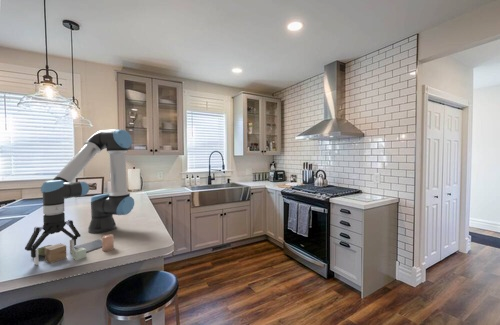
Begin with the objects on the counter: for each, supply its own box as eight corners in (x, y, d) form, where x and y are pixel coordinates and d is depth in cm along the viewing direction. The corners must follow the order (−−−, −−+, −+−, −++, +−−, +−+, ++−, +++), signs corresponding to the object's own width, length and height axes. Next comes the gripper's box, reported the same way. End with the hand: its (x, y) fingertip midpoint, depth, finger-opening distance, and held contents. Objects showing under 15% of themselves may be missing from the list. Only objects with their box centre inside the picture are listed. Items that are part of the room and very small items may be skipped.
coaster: (74, 248, 117) (74, 246, 117) (98, 240, 127) (98, 239, 127) (85, 253, 111) (85, 251, 111) (110, 244, 122) (110, 243, 122)
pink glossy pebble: (100, 250, 115) (99, 236, 114) (110, 246, 119) (110, 233, 119) (105, 252, 112) (105, 238, 112) (115, 248, 117) (115, 235, 116)
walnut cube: (44, 260, 104) (44, 247, 104) (60, 255, 109) (60, 243, 109) (50, 263, 101) (50, 250, 101) (66, 258, 106) (66, 245, 106)
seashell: (54, 244, 117) (60, 234, 113) (60, 256, 115) (66, 247, 111) (28, 253, 108) (34, 243, 104) (34, 266, 106) (40, 256, 102)
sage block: (72, 258, 105) (72, 250, 105) (82, 255, 109) (81, 247, 109) (76, 260, 103) (76, 252, 103) (86, 257, 107) (85, 249, 107)
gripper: (20, 221, 92) (21, 271, 93) (87, 208, 114) (88, 250, 114) (14, 218, 96) (15, 267, 96) (80, 207, 117) (81, 247, 118)
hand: (55, 258), depth 105 cm, fingers open, 13 cm apart
